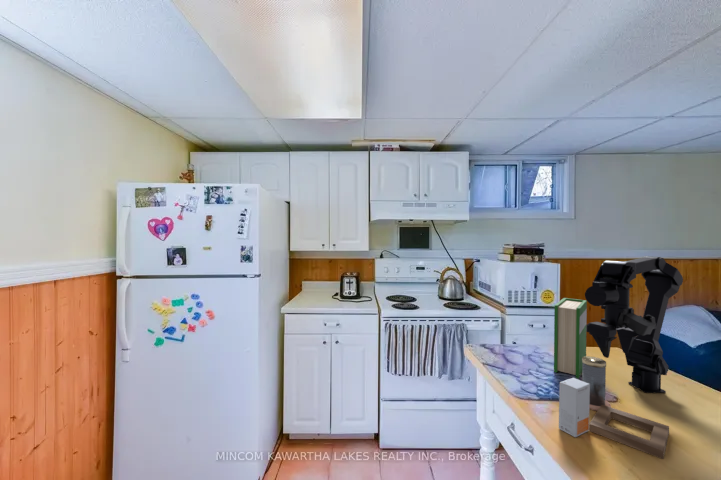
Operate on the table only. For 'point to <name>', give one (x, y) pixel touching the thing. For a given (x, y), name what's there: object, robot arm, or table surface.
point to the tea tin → (595, 378)
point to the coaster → (598, 406)
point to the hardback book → (570, 335)
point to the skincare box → (574, 406)
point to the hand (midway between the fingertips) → (616, 355)
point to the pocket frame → (651, 446)
